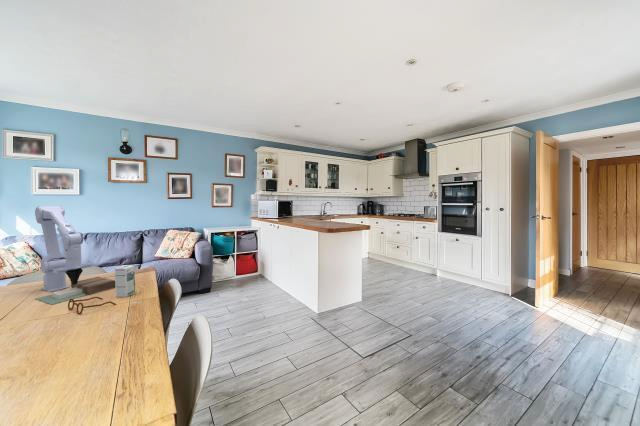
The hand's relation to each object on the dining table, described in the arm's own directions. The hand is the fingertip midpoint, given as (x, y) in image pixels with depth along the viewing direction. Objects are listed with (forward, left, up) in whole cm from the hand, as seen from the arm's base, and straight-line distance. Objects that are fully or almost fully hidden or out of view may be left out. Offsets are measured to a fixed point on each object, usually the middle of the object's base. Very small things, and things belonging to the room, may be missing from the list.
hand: (74, 284), depth 130 cm
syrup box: (+24, +10, -5) cm, 27 cm away
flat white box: (0, -3, -5) cm, 5 cm away
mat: (0, -5, -5) cm, 7 cm away
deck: (0, +8, -5) cm, 9 cm away
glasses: (+26, -5, -6) cm, 27 cm away
